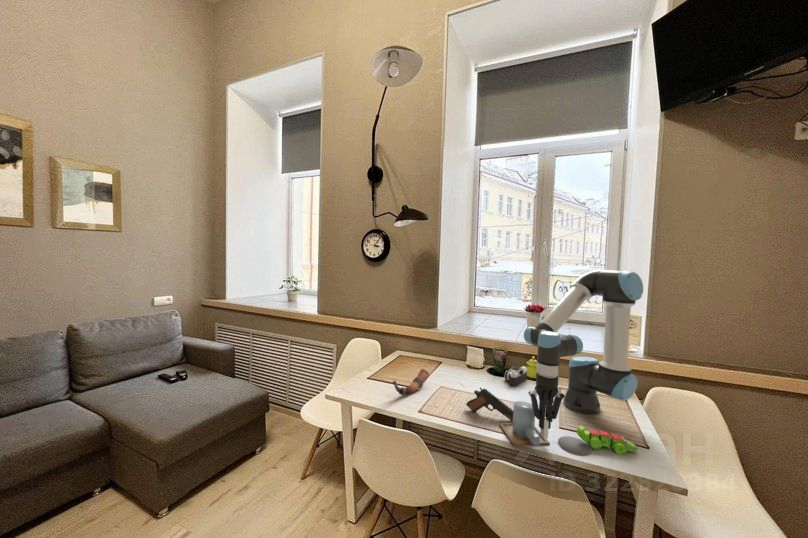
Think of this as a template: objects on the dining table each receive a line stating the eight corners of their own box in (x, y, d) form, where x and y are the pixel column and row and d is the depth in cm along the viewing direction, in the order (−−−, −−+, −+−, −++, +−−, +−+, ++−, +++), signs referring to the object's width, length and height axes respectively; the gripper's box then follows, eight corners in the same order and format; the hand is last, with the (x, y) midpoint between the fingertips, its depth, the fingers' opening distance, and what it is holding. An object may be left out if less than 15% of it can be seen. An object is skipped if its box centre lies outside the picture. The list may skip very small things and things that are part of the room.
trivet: (579, 438, 123) (579, 436, 123) (598, 456, 112) (598, 453, 112) (552, 438, 123) (552, 436, 122) (568, 456, 112) (568, 454, 112)
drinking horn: (430, 385, 170) (431, 366, 169) (397, 404, 146) (398, 383, 146) (421, 382, 173) (422, 364, 173) (388, 401, 149) (388, 380, 149)
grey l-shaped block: (509, 427, 128) (510, 401, 128) (528, 427, 129) (529, 401, 128) (525, 450, 113) (527, 420, 113) (547, 450, 114) (548, 420, 113)
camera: (514, 377, 186) (515, 360, 185) (529, 381, 179) (529, 364, 179) (500, 384, 175) (501, 366, 174) (515, 389, 168) (516, 370, 168)
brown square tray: (531, 425, 132) (532, 422, 132) (549, 445, 118) (549, 442, 118) (499, 425, 131) (499, 423, 131) (512, 445, 117) (513, 443, 117)
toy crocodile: (631, 449, 118) (633, 433, 118) (639, 459, 111) (641, 443, 111) (573, 435, 123) (575, 420, 122) (577, 445, 116) (580, 429, 116)
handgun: (466, 403, 145) (479, 383, 142) (503, 433, 137) (518, 413, 134) (464, 405, 143) (478, 385, 140) (502, 436, 135) (517, 415, 132)
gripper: (558, 370, 121) (555, 431, 122) (525, 370, 120) (522, 431, 121) (570, 378, 114) (566, 442, 115) (535, 378, 113) (531, 442, 114)
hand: (544, 436), depth 118 cm, fingers closed
